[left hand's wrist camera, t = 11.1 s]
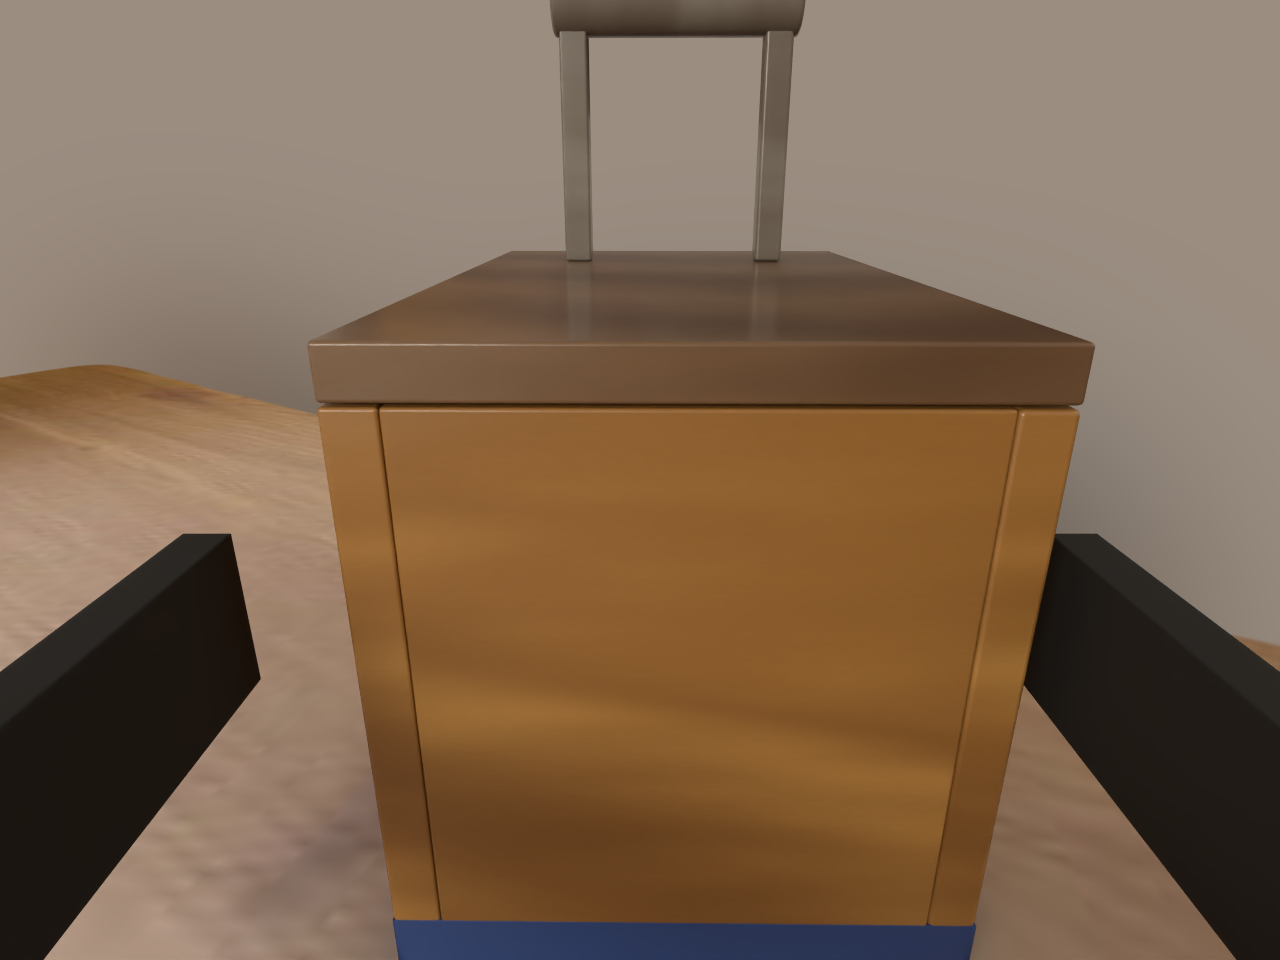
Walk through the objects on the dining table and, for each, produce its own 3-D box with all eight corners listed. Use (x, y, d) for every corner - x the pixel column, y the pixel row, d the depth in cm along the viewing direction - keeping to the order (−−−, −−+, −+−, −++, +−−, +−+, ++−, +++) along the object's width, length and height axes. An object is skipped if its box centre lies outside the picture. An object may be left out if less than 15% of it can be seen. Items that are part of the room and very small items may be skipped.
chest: (524, 577, 28) (506, 282, 24) (808, 579, 28) (834, 283, 24) (399, 963, 14) (313, 407, 10) (967, 970, 14) (1085, 410, 10)
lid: (511, 277, 25) (495, -8, 22) (827, 278, 25) (851, -9, 22) (313, 404, 10) (192, -395, 8) (1085, 406, 10) (1254, -405, 7)
